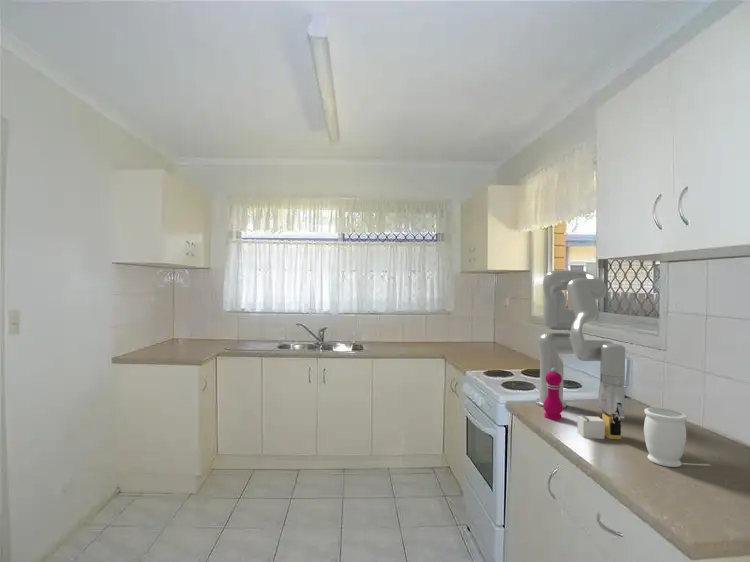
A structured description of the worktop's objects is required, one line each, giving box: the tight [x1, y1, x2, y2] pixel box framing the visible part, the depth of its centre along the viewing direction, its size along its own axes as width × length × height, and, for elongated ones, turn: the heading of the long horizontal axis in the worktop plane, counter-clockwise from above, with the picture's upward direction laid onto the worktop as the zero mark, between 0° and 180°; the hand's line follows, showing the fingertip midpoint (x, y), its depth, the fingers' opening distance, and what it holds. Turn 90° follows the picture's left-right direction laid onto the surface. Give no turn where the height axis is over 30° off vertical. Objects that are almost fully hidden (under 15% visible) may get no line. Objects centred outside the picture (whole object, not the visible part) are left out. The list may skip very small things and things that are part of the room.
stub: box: [601, 413, 622, 440], centre depth 148 cm, size 5×4×7 cm
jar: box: [643, 407, 687, 468], centre depth 129 cm, size 11×10×15 cm
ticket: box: [577, 414, 606, 440], centre depth 149 cm, size 5×7×6 cm
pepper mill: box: [542, 368, 564, 421], centre depth 168 cm, size 7×7×20 cm
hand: (611, 431), depth 148 cm, fingers closed on stub, 5 cm apart
